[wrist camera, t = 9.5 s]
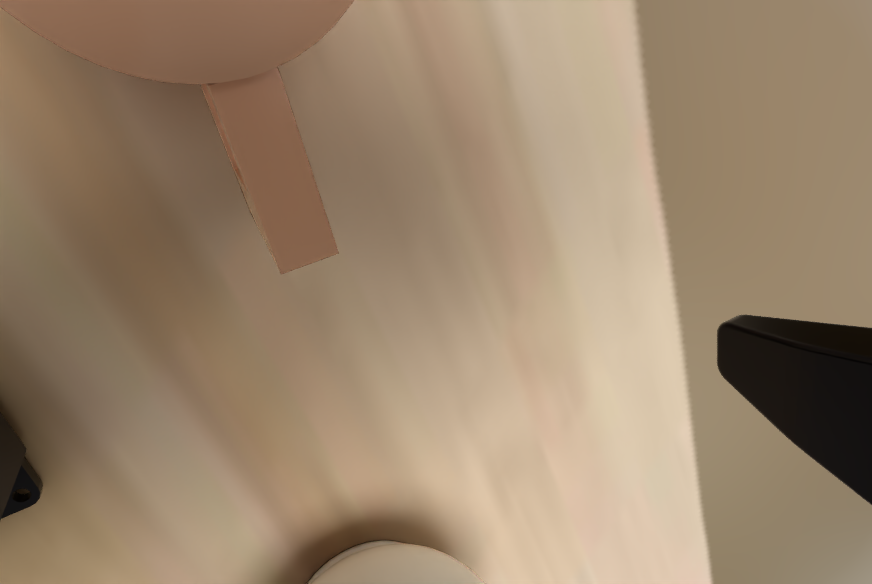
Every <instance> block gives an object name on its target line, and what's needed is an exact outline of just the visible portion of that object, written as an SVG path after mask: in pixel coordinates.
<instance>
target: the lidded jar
mask: <svg viewBox="0 0 872 584" xmlns="http://www.w3.org/2000/svg"><path fill="white" fill-rule="evenodd" d="M307 584H486V583H485V582H484V581H483V580H482V579H481V578H480V577H479V576H478V575H477V574H476V573H475V572H473V571H472V570H471V569H470V568H468V567H467V566H465V565H464V564H462V563H461V562H459V561H458V560H456V559H455V558H453V557H452V556H450V555H448V554H446V553H443V552H440V551H438V550H435V549H432V548H430V547H426V546H421V545H415V544H404V543H401V542H397V541H391V540H380V541H372V542H368V543H363V544H360V545H357V546H355V547H352V548H350V549H348V550H346V551H344V552H342V553H340V554H338V555H337V556H335V557H334V558H332V559H330V560H329V561H328V562H327V563H326V564H324V565H323V566H322V567H321V568H320V569H319V570H318V571H317V572H316V573H315V574H314V575H313V576H312V578H311V579H310V580H309V581H308V583H307Z"/></svg>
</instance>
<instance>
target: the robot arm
mask: <svg viewBox="0 0 872 584" xmlns="http://www.w3.org/2000/svg"><path fill="white" fill-rule="evenodd" d="M717 366H718V369H719V371H720V373H721V375H722V376H723V377H724V378H725V379H726V380H727V381H728V382H729V383H730V384H731V385H732V386H733V387H734V388H735V389H736V390H737V391H738V392H739V393H740V394H741V395H743V397H745V398H746V399H747V400H748V401H749V402H750V403H751V404H752V405H753V406H754V407H755V408H756V409H758V411H759V412H760V413H762V414H763V415H764V416H765V417H766V418H767V419H768V420H769V421H770V422H771V423H772V424H773V425H774V426H776V428H777V429H779V430H780V431H781V432H782V433H783V434H784V435H785V436H786V437H787V438H788V439H790V440H791V441H792V442H793V443H794V444H795V445H796V446H798V447H799V448H800V449H801V450H803V451H804V452H805V453H806V454H808V455H809V456H810V457H811V458H812V459H814V460H815V461H816V462H818V463H819V464H820V465H822V466H823V467H824V468H825V469H827V470H828V471H829V472H830V473H832V474H833V475H834V476H835V477H837V478H838V479H839V480H840V481H842V482H843V483H844V484H846V485H847V486H848V487H849V488H851V489H852V490H853V491H854V492H856V493H857V494H858V495H860V496H861V497H862V498H863V499H865V500H866V501H867V502H868V503H870V504H871V505H872V328H867V327H857V326H847V325H838V324H827V323H819V322H809V321H799V320H790V319H780V318H771V317H761V316H752V315H739V316H736V317H734V318H732V319H730V320H728V321H725V322H723V323H722V324H721V325H720V326H719V328H718V330H717ZM25 454H26V447H25V446H24V444H23V443H22V442H21V440H20V439H19V437H18V436H17V435H16V433H15V432H14V430H13V429H12V428H11V426H10V425H9V423H8V422H7V421H6V419H5V418H4V417H3V415H2V414H1V412H0V520H1V519H2V518H4V517H6V516H9V515H11V514H13V513H16V512H18V511H20V510H23V509H25V508H28V507H30V506H32V505H33V504H35V503H36V502H37V501H38V499H39V498H40V495H41V492H42V487H43V484H42V482H41V480H40V478H39V477H38V476H37V474H36V473H35V472H34V470H33V469H32V467H31V466H30V465H29V463H28V462H27V461H26V459H25V458H24V456H25ZM17 489H27V490H29V491H30V493H27V494H20V493H18V492H16V490H17Z"/></svg>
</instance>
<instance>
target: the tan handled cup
mask: <svg viewBox="0 0 872 584" xmlns="http://www.w3.org/2000/svg"><path fill="white" fill-rule="evenodd" d="M352 2H353V0H0V7H1V8H2V9H4V10H5V11H6V12H8V13H9V14H11V15H12V16H13V17H15V18H16V19H17V20H19V21H20V22H22V23H23V24H24V25H26V26H27V27H29V28H30V29H31V30H33V31H34V32H36V33H37V34H39V35H41V36H42V37H44V38H46V39H48V40H49V41H51V42H53V43H54V44H56V45H58V46H60V47H61V48H63V49H65V50H67V51H68V52H71V53H73V54H75V55H77V56H80V57H82V58H84V59H86V60H89V61H91V62H93V63H95V64H98V65H100V66H103V67H106V68H109V69H112V70H115V71H118V72H121V73H124V74H128V75H131V76H135V77H140V78H145V79H150V80H155V81H160V82H168V83H182V84H200V85H201V88H202V90H203V93H204V96H205V98H206V101H207V103H208V106H209V108H210V111H211V113H212V116H213V119H214V121H215V124H216V126H217V129H218V131H219V134H220V136H221V139H222V142H223V144H224V147H225V149H226V152H227V154H228V157H229V159H230V162H231V165H232V167H233V170H234V172H235V175H236V177H237V180H238V183H239V185H240V188H241V190H242V193H243V195H244V198H245V200H246V203H247V206H248V208H249V211H250V213H251V215H252V217H253V219H254V221H255V223H256V225H257V227H258V229H259V231H260V233H261V235H262V237H263V239H264V241H265V243H266V245H267V247H268V249H269V251H270V253H271V255H272V257H273V259H274V261H275V263H276V265H277V267H278V269H279V271H280V273H281V274H284V273H287V272H289V271H292V270H295V269H297V268H300V267H303V266H306V265H308V264H311V263H314V262H317V261H319V260H322V259H325V258H328V257H330V256H333V255H336V254H338V253H339V252H338V249H337V246H336V243H335V240H334V237H333V234H332V231H331V228H330V225H329V222H328V219H327V216H326V213H325V210H324V207H323V203H322V200H321V197H320V194H319V191H318V188H317V185H316V182H315V179H314V176H313V173H312V170H311V167H310V164H309V161H308V158H307V155H306V152H305V149H304V146H303V143H302V140H301V136H300V133H299V130H298V127H297V124H296V121H295V118H294V115H293V112H292V109H291V106H290V103H289V100H288V97H287V94H286V91H285V88H284V85H283V82H282V79H281V76H280V73H279V69H278V66H280V65H282V64H284V63H286V62H288V61H290V60H292V59H294V58H296V57H297V56H299V55H300V54H301V53H303V52H304V51H306V50H307V49H308V48H310V47H311V46H312V45H314V44H315V43H317V42H318V41H319V40H320V39H321V38H322V37H323V36H324V35H325V34H326V33H327V32H328V31H329V30H330V29H331V28H332V27H333V26H334V25H335V24H336V23H337V22H338V21H339V19H340V18H341V17H342V15H343V14H344V13H345V12H346V10H347V9H348V8H349V6H350V5H351V4H352Z"/></svg>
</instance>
